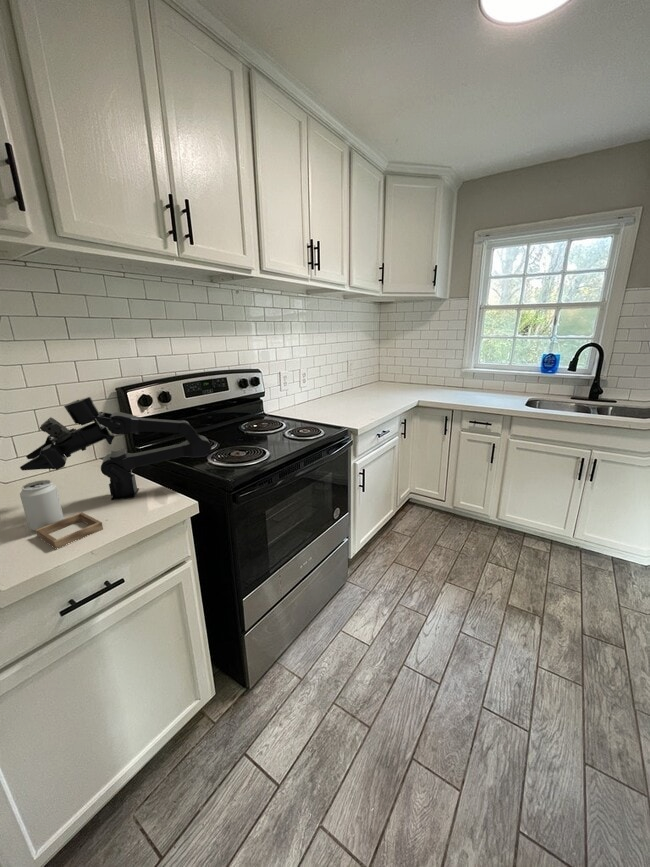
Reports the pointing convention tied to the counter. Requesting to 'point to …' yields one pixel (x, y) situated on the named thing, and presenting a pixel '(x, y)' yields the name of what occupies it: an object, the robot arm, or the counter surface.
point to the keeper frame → (56, 543)
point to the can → (41, 504)
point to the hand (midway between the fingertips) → (24, 463)
